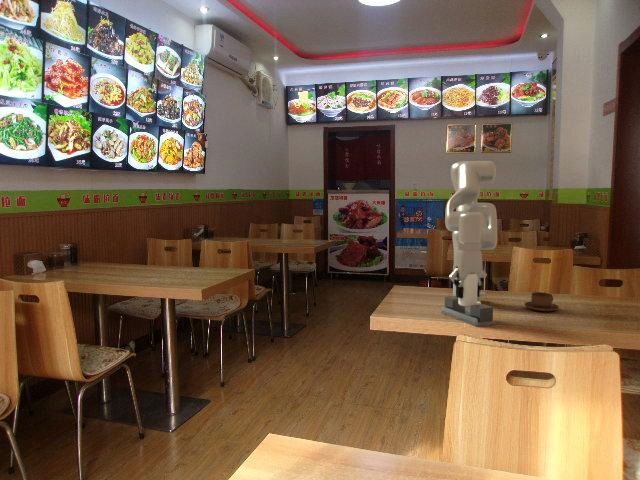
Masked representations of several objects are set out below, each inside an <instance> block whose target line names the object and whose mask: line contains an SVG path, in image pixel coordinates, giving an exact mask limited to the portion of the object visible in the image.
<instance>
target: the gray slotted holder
mask: <svg viewBox="0 0 640 480" xmlns="http://www.w3.org/2000/svg"><path fill="white" fill-rule="evenodd" d="M440 311H441V312H440V313H441V314H442V313H443V315H445V314H446V315H445V316H447V315H448V317H450V316H451V317H450V318H452V317H453V318H452V319H455V318H456V319H455V320H458V321H460V320H461V322H463V321H464V322H463V323H465V322H466V323H465V324H467V325H468V324H469V325H471V326H474V327H476V328H478V327H484V326H491V325H492V324H494V325H495V324H496V321H495V320H494V307H493V306H490V305H489V304H485V303H481V304H479V305H471V307H470V312H468V311H465V306H460V305H459V304H458V297H456V296H453V295H450V296H448V295H447V296H444V305H442V306H441V309H440Z"/></svg>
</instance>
